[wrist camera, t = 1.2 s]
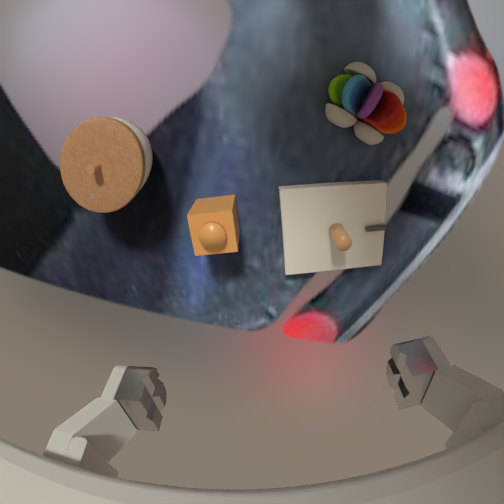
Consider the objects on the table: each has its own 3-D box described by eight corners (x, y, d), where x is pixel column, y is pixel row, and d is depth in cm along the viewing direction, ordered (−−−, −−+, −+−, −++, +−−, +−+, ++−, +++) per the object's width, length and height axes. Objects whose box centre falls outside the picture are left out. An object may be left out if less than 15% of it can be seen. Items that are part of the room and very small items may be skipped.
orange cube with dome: (196, 199, 38) (185, 218, 32) (235, 194, 38) (231, 212, 32) (202, 234, 40) (194, 259, 34) (239, 230, 40) (237, 255, 34)
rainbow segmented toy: (375, 150, 35) (399, 161, 28) (310, 111, 33) (324, 112, 26) (403, 98, 31) (432, 99, 25) (341, 56, 29) (361, 46, 23)
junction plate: (278, 186, 37) (282, 199, 32) (383, 180, 36) (401, 192, 32) (284, 269, 43) (288, 291, 38) (378, 259, 42) (392, 279, 37)
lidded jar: (104, 202, 38) (71, 229, 30) (81, 130, 33) (40, 142, 25) (173, 180, 37) (151, 204, 28) (150, 101, 32) (120, 102, 24)
